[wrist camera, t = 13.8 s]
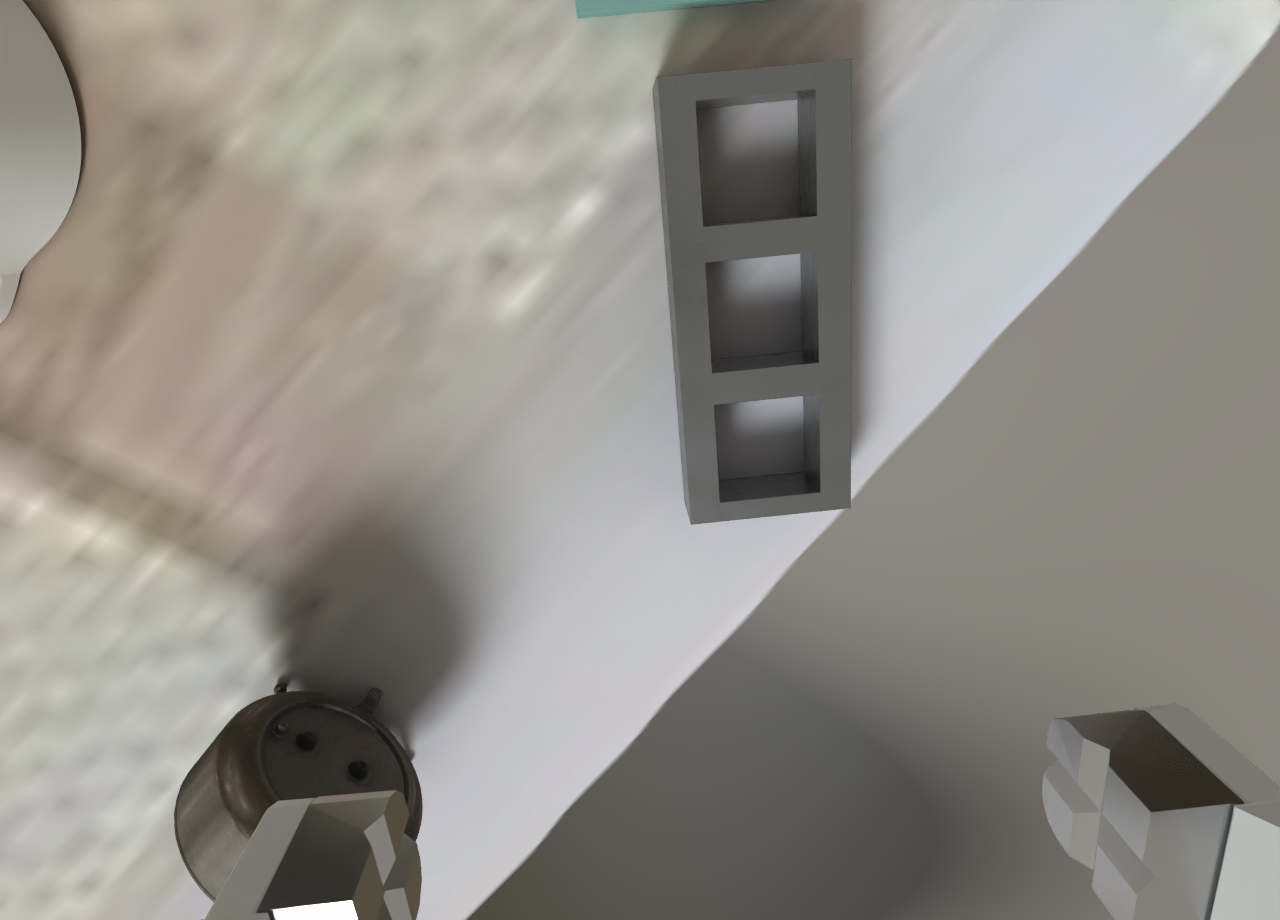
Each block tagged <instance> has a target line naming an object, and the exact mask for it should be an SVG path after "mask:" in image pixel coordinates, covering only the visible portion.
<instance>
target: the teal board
mask: <svg viewBox="0 0 1280 920" xmlns="http://www.w3.org/2000/svg"><path fill="white" fill-rule="evenodd" d="M758 1H768V0H576V8H577V17H578V18H585V17H596V16H607V15H618V14H628V13H639V12H650V11H661V10H672V9H682V8H693V7H704V6H715V5H725V4H736V3H747V2H758Z"/></svg>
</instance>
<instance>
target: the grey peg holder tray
mask: <svg viewBox="0 0 1280 920" xmlns="http://www.w3.org/2000/svg"><path fill="white" fill-rule="evenodd" d="M851 92H852V59H846V60H835V61H825V62H814V63H803V64H793V65H782V66H771V67H761V68H750V69H740V70H729V71H718V72H708V73H697V74H687V75H676V76H665V77H657V79H656V82H655V84H654V86H653V99H654V112H655V125H656V138H657V151H658V164H659V177H660V190H661V203H662V216H663V229H664V242H665V255H666V268H667V280H668V293H669V306H670V319H671V332H672V345H673V358H674V371H675V384H676V397H677V410H678V423H679V436H680V448H681V461H682V474H683V487H684V500H685V505H686V509H687V512H688V516H689V519H690V523H691V524H701V523H711V522H720V521H730V520H740V519H749V518H759V517H769V516H778V515H788V514H798V513H807V512H817V511H827V510H836V509H846V508H851ZM795 99H798V148H799V199H800V215H798V216H788V217H778V218H767V219H757V220H747V221H736V222H726V223H716V224H706V225H703V216H702V200H701V183H700V167H699V150H698V134H697V117H696V109H701V108H711V107H722V106H732V105H743V104H753V103H764V102H774V101H785V100H795ZM799 253H801V302H802V351H797V352H787V353H777V354H767V355H757V356H747V357H737V358H727V359H717V360H711V349H710V332H709V316H708V299H707V282H706V266H705V263H707V262H717V261H727V260H738V259H748V258H758V257H768V256H778V255H789V254H799ZM796 396H803V404H804V455H805V472H799V473H789V474H779V475H769V476H760V477H750V478H740V479H731V480H721V481H718V464H717V448H716V431H715V415H714V405H717V404H727V403H737V402H747V401H757V400H766V399H776V398H786V397H796Z"/></svg>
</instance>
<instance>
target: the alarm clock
mask: <svg viewBox="0 0 1280 920" xmlns="http://www.w3.org/2000/svg"><path fill="white" fill-rule="evenodd" d="M286 690H287V688H286V686H285V685H284V684H278V685H276V686H275V688H274V693H275V694H274V695H271V696H267V697H264V698H262V699H259V700H257V701H255V702H253V703H251V704H249V705H248V706H246V707H245V708H243V709H242V710H241V711H239V712H238V713H237V714H236V715H235V716H234V717H233V718H232V719H231V720H230V721H229V723H228V724H227V725H226V726H225V727H224V729H223V730H222V731H221V732H220V734H219V735H218V736H217V737H216V739H215V740H214V741H213V742H212V744H211V745H210V746H209V747H208V749H207V750H206V751H205V752H204V754H203V755H202V756H201V757H200V759H199V760H198V761H197V762H196V764H195V765H194V766H193V767H192V769H191V770H190V771H189V773H188V774H187V776H186V778H185V779H184V781H183V783H182V785H181V788H180V791H179V794H178V797H177V800H176V806H175V812H174V820H175V824H174V826H175V835H176V840H177V844H178V848H179V851H180V854H181V856H182V859H183V861H184V863H185V865H186V867H187V869H188V871H189V873H190V874H191V876H192V878H193V879H194V881H195V882H196V883H197V885H198V886H199V887H200V889H201V890H202V891H203V892H204V893H205V894H206V895H207V896H208V897H209V898H210V899H211V900H212V901H213V902H215V900H216V898H217V897H218V895H219V893H220V891H221V890H222V888H223V886H224V884H225V883H226V881H227V879H228V877H229V875H230V874H231V872H232V870H233V868H234V867H235V865H236V863H237V861H238V860H239V858H240V856H241V854H242V853H243V851H244V849H245V847H246V845H247V844H248V842H249V840H250V838H251V837H252V835H253V833H254V831H255V830H256V828H257V826H258V824H259V823H260V821H261V819H262V817H263V815H264V814H265V812H266V810H267V809H268V808H269V807H271V806H272V805H273V804H275V803H276V802H277V801H282V800H294V799H307V798H318V797H320V796H332V795H344V794H356V793H368V792H380V791H392V790H397V791H399V792H401V793H403V794H404V798H405V801H406V804H407V808H408V811H409V818H408V821H407V824H406V828H405V831H404V833H405V834H406V835H407V836H409V837H410V838H411V839H412V840H414V841H416V839H417V836H418V833H419V830H420V825H421V820H422V794H421V789H420V784H419V780H418V777H417V774H416V772H415V769H414V767H413V765H412V763H411V761H410V759H409V757H408V755H407V753H406V752H405V750H404V749H403V747H402V746H401V744H400V743H399V742H398V741H397V739H396V738H395V737H394V736H393V735H392V734H391V732H390V731H389V730H388V729H387V728H386V727H385V726H383V725H382V724H381V723H380V722H379V721H378V720H376V719H375V718H374V717H373V716H372V712H373V710H374V708H375V706H376V704H377V703H378V701H379V699H380V695H381V691H380V690H379V689H377V688H373V689H371V690H370V692H369V693H368V695H367V697H366V698H365V700H364V701H363V703H362V704H361V705H358V706H355V705H353V704H351V703H349V702H346V701H344V700H341V699H339V698H336V697H333V696H329V695H326V694H321V693H316V692H307V691H291V692H286Z"/></svg>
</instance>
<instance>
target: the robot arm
mask: <svg viewBox="0 0 1280 920" xmlns="http://www.w3.org/2000/svg"><path fill="white" fill-rule="evenodd" d="M80 166H81V132H80V124H79V117H78V112H77V107H76V103H75V99H74V96H73V92H72V89H71V86H70V83H69V80H68V77H67V74H66V72H65V70H64V67H63V65H62V62H61V60H60V58H59V56H58V54H57V52H56V50H55V48H54V46H53V45H52V43H51V41H50V39H49V37H48V36H47V34H46V32H45V31H44V29H43V28H42V26H41V25H40V23H39V22H38V20H37V19H36V17H35V16H34V15H33V13H32V12H31V10H30V9H29V8H28V7H27V5H26V4H25V3H24V2H23V0H0V323H1V322H2V321H3V320H4V319H5V318H6V317H7V315H8V313H9V311H10V309H11V306H12V303H13V301H14V297H15V294H16V290H17V287H18V282H19V278H20V274H21V272H22V270H23V269H24V267H25V266H26V264H27V263H28V262H29V261H30V259H31V258H32V257H33V256H34V255H35V254H36V253H37V252H38V251H39V250H40V249H41V248H42V247H43V246H44V245H45V244H46V243H47V242H48V241H49V240H50V239H51V237H52V236H53V235H54V234H55V233H56V231H57V230H58V228H59V227H60V225H61V224H62V222H63V220H64V218H65V217H66V215H67V213H68V211H69V208H70V206H71V204H72V201H73V198H74V195H75V192H76V188H77V184H78V180H79V173H80ZM1047 746H1048V748H1049V749H1050V750H1051V751H1052V752H1053V754H1054V755H1055V756H1056V758H1057V759H1056V760H1055V761H1054V762H1053V764H1052V765H1051V766H1050V767H1049V768H1048V770H1047V771H1046V772H1045V773H1044V774H1043V790H1042V798H1043V802H1044V806H1045V810H1046V814H1047V818H1048V821H1049V823H1050V825H1051V827H1052V829H1053V831H1054V834H1055V836H1056V838H1057V839H1058V841H1059V842H1060V843H1061V845H1062V846H1063V848H1064V849H1065V850H1066V852H1067V854H1068V855H1069V856H1071V857H1072V858H1074V859H1076V860H1077V861H1079V862H1081V863H1082V864H1084V865H1086V866H1087V867H1089V868H1091V869H1092V870H1093V881H1092V889H1093V890H1094V891H1095V893H1096V894H1097V896H1098V897H1099V898H1100V899H1101V901H1102V902H1103V904H1104V905H1105V907H1106V908H1107V909H1108V911H1109V912H1110V913H1111V915H1112V916H1113V918H1114V919H1115V920H1280V786H1279V785H1278V784H1277V783H1276V782H1275V781H1273V780H1272V779H1271V778H1270V777H1269V776H1268V775H1266V774H1265V773H1264V772H1263V771H1262V770H1261V769H1259V768H1258V767H1257V766H1256V765H1255V764H1254V763H1252V762H1251V761H1250V760H1249V759H1247V758H1246V757H1245V756H1244V755H1243V754H1242V753H1241V752H1239V751H1238V750H1237V749H1236V748H1235V747H1234V746H1232V745H1231V744H1230V743H1229V742H1228V741H1226V740H1225V739H1224V738H1223V737H1222V736H1221V735H1219V734H1218V733H1217V732H1216V731H1215V730H1214V729H1212V728H1211V727H1210V726H1209V725H1208V724H1207V723H1205V722H1204V721H1203V720H1202V719H1201V718H1200V717H1198V716H1197V715H1196V714H1195V713H1194V712H1192V711H1191V710H1190V709H1188V708H1186V707H1184V706H1181V705H1179V704H1176V703H1174V704H1165V705H1157V706H1150V707H1142V708H1135V709H1134V710H1123V711H1115V712H1106V713H1097V714H1089V715H1080V716H1072V717H1063V718H1055V719H1054V720H1053V722H1052V724H1051V725H1050V727H1049V729H1048V737H1047ZM408 818H409V811H408V808H407V804H406V801H405V798H404V794H403V793H401V792H399V791H397V790H392V791H380V792H368V793H356V794H344V795H332V796H320V797H318V798H307V799H294V800H282V801H277V802H276V803H275V804H273V805H272V806H271V807H269V808H268V809H267V810H266V812H265V814H264V815H263V817H262V819H261V821H260V823H259V824H258V826H257V828H256V830H255V831H254V833H253V835H252V837H251V838H250V840H249V842H248V844H247V845H246V847H245V849H244V851H243V853H242V854H241V856H240V858H239V860H238V861H237V863H236V865H235V867H234V868H233V870H232V872H231V874H230V875H229V877H228V879H227V881H226V883H225V884H224V886H223V888H222V890H221V891H220V893H219V895H218V897H217V898H216V900H215V902H214V904H213V905H212V907H211V909H210V911H209V913H208V914H207V916H206V918H205V919H203V920H416V918H417V914H418V909H419V905H420V894H421V882H422V874H421V862H420V856H419V851H418V847H417V843H416V842H415V841H414V840H412V839H411V838H410V837H409V836H407V835H406V834H405V833H404V831H405V828H406V824H407V821H408Z"/></svg>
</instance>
